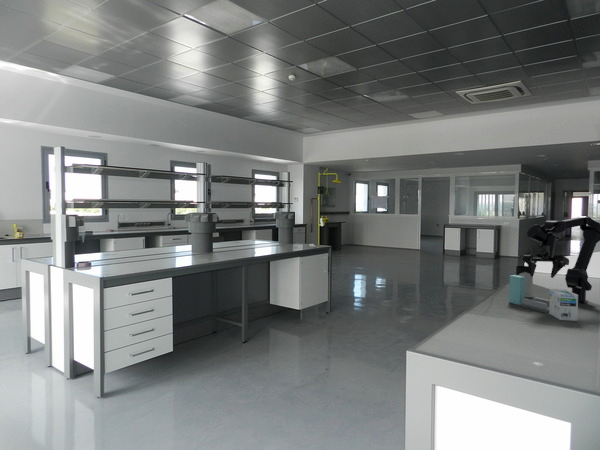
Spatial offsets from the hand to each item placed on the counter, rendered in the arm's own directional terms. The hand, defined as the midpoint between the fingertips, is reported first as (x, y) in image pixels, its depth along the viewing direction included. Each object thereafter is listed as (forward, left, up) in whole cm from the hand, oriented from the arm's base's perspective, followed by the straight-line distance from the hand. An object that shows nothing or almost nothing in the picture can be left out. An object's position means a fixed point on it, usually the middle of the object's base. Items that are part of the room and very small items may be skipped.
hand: (541, 277), depth 182 cm
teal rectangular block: (+3, -9, -13) cm, 17 cm away
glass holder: (-22, -15, -14) cm, 30 cm away
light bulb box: (+15, +13, -14) cm, 24 cm away
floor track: (+6, +2, -13) cm, 15 cm away
